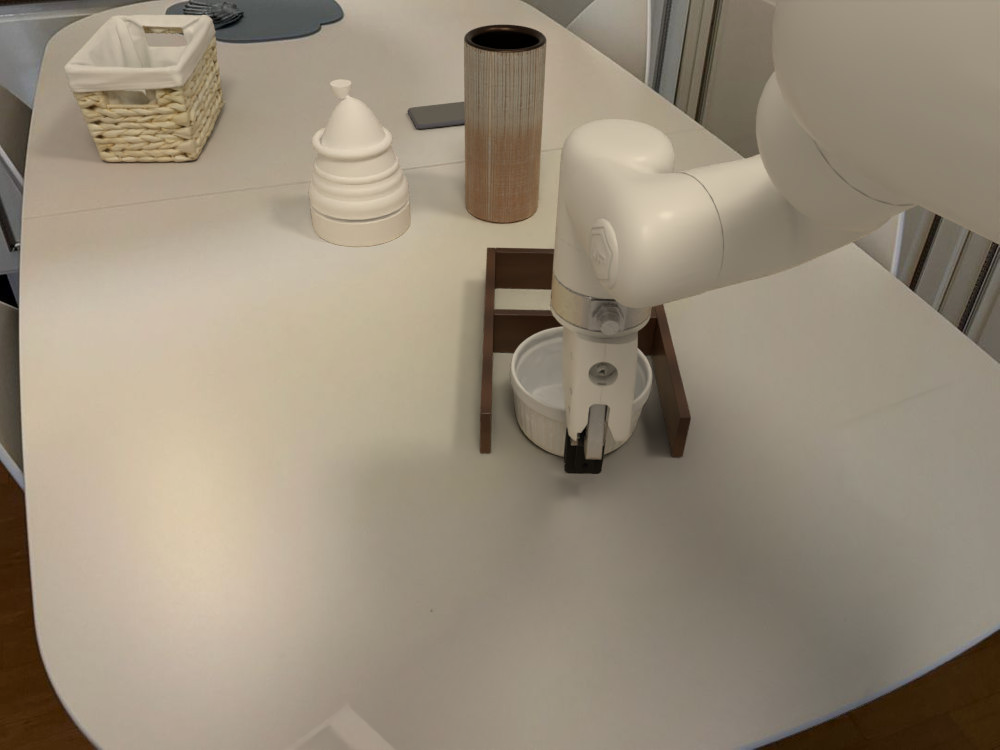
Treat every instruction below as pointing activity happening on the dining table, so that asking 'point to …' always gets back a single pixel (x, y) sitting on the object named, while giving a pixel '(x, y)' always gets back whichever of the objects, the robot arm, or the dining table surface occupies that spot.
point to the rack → (518, 325)
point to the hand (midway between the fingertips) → (582, 466)
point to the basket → (148, 88)
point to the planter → (503, 121)
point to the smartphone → (438, 115)
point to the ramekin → (557, 391)
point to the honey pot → (357, 178)
